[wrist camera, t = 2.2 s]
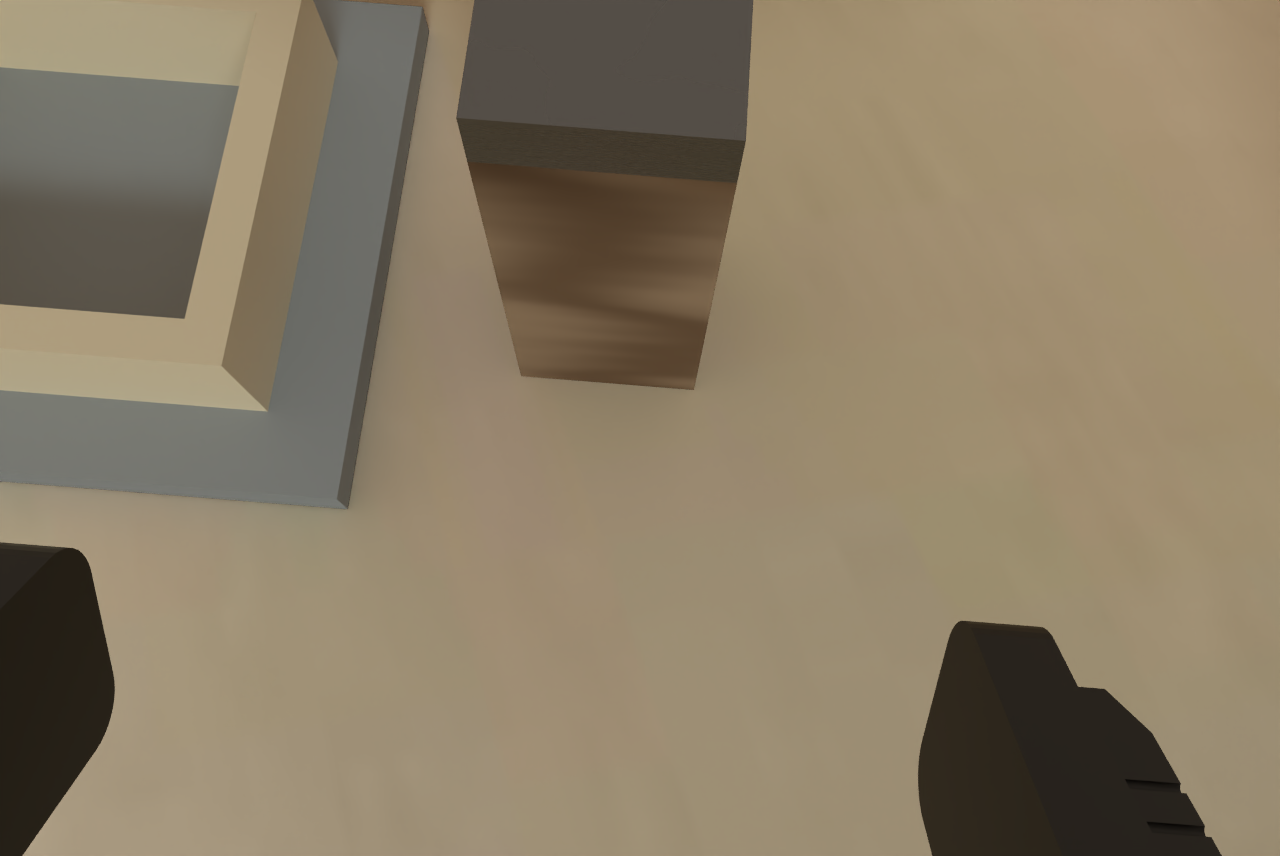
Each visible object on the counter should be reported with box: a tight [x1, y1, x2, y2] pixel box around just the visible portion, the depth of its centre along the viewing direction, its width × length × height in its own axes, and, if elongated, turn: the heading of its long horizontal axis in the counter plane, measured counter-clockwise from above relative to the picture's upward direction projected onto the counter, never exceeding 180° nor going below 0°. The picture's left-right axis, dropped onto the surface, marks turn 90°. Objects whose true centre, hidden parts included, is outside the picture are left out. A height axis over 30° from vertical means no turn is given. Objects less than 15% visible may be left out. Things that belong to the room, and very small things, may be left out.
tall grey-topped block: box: [456, 0, 753, 390], centre depth 21 cm, size 4×4×11 cm
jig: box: [0, 0, 429, 509], centre depth 25 cm, size 14×14×4 cm
